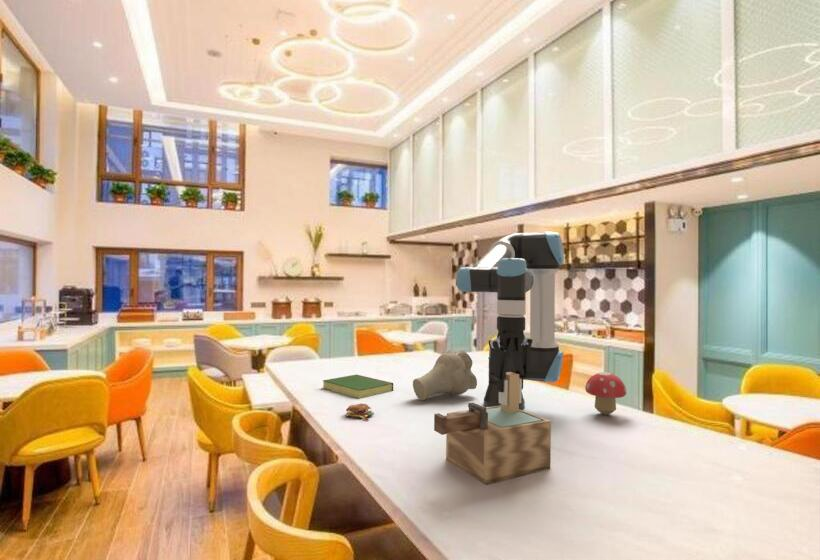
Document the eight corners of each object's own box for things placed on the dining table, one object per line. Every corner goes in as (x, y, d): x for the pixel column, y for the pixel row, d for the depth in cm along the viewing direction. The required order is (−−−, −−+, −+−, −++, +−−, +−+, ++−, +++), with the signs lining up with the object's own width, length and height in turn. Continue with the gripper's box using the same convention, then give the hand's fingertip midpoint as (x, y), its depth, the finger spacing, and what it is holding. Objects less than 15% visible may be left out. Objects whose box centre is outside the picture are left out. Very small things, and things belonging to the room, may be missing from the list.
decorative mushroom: (578, 414, 164) (579, 372, 164) (593, 407, 174) (594, 367, 174) (618, 422, 155) (618, 377, 155) (631, 414, 165) (631, 372, 165)
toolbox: (505, 446, 131) (506, 386, 131) (550, 468, 116) (551, 400, 116) (431, 461, 119) (432, 395, 119) (470, 488, 104) (471, 412, 104)
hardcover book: (393, 391, 196) (393, 382, 196) (359, 399, 182) (359, 390, 182) (355, 382, 213) (355, 374, 213) (321, 388, 200) (321, 380, 200)
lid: (505, 411, 129) (505, 370, 129) (541, 425, 116) (542, 380, 116) (466, 417, 123) (467, 374, 123) (501, 433, 110) (501, 385, 110)
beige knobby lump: (421, 374, 167) (479, 350, 182) (389, 356, 184) (444, 335, 199) (427, 426, 173) (482, 399, 188) (395, 404, 190) (448, 380, 205)
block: (480, 422, 113) (480, 407, 113) (489, 426, 110) (489, 410, 110) (434, 430, 107) (434, 413, 107) (442, 434, 104) (442, 417, 104)
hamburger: (333, 421, 154) (333, 403, 154) (353, 410, 167) (353, 393, 167) (371, 426, 149) (371, 407, 149) (388, 414, 162) (389, 397, 162)
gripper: (525, 314, 132) (524, 396, 132) (476, 315, 124) (475, 403, 124) (545, 316, 125) (543, 402, 125) (494, 317, 117) (493, 410, 117)
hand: (510, 402), depth 124 cm, fingers open, 4 cm apart
